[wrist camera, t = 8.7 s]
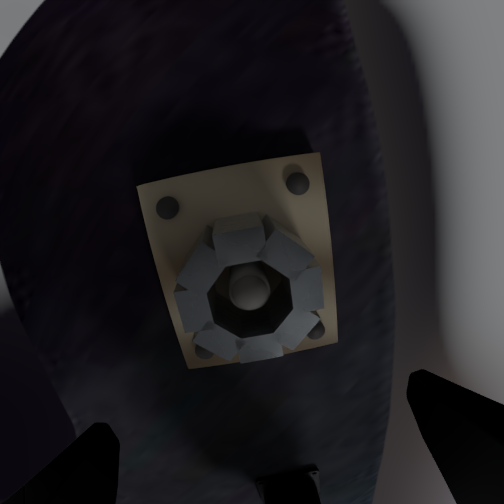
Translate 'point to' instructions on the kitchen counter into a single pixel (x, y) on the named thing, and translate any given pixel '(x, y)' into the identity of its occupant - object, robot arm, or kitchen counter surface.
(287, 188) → the beige mounting plate
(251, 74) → the kitchen counter surface
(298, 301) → the ring
